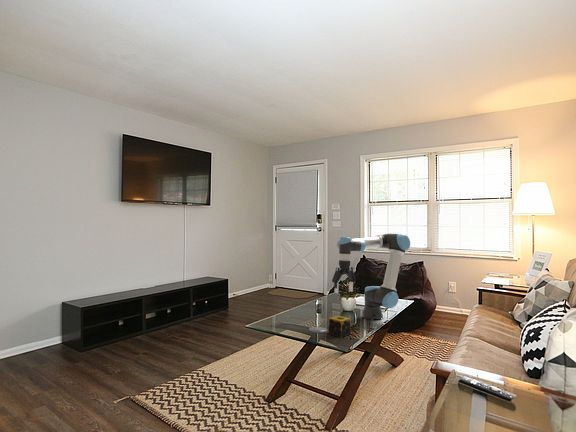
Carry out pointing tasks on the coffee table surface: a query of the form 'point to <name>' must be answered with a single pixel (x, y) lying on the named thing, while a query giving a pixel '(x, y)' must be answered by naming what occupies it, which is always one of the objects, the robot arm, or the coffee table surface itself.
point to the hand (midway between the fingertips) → (343, 292)
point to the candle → (339, 326)
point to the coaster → (318, 330)
